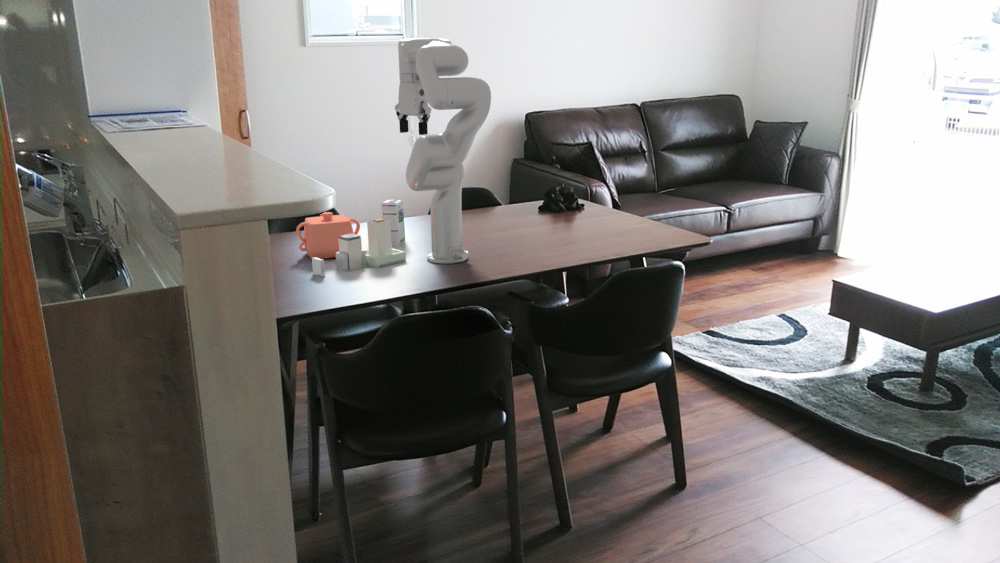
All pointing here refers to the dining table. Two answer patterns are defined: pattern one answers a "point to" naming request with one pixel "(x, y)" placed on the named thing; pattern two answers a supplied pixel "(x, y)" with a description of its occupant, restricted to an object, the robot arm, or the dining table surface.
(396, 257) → the tray
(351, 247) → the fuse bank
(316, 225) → the teapot
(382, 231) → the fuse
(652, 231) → the dining table surface
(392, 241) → the syrup box
